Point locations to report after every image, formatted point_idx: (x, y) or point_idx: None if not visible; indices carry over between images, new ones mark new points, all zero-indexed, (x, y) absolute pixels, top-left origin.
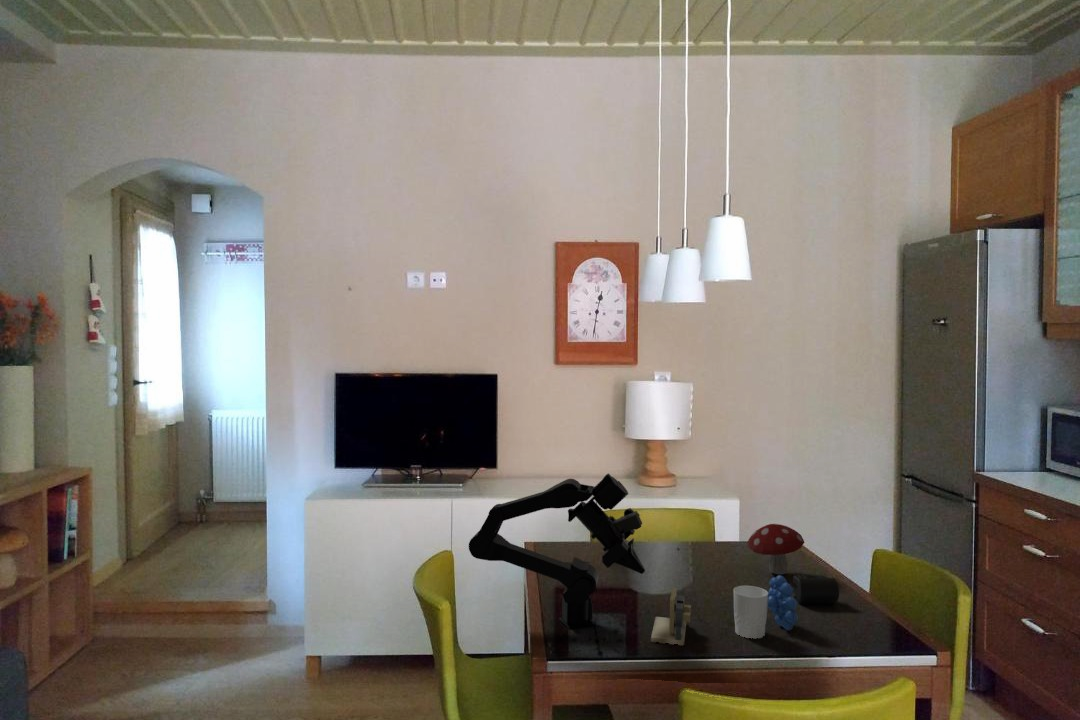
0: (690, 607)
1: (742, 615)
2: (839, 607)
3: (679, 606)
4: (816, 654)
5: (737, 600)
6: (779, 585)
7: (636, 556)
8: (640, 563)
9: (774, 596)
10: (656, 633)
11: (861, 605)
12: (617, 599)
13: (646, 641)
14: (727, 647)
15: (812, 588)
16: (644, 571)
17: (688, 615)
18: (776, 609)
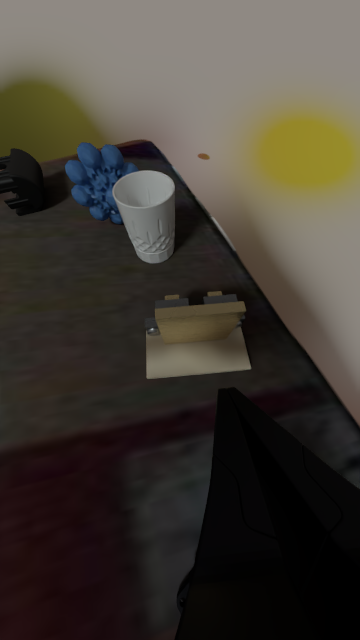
0: (177, 295)
1: (172, 229)
2: (50, 183)
3: (224, 301)
4: (190, 198)
5: (164, 214)
6: (100, 161)
7: (250, 467)
8: (238, 417)
9: (107, 188)
10: (228, 362)
11: (42, 170)
12: (31, 504)
13: (249, 378)
14: (212, 267)
15: (33, 174)
16: (234, 388)
17: (221, 293)
18: None
